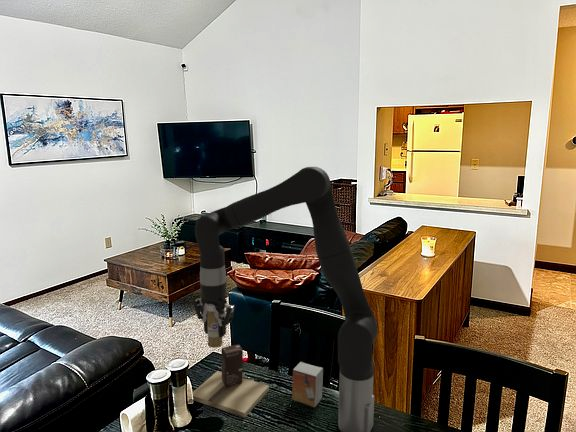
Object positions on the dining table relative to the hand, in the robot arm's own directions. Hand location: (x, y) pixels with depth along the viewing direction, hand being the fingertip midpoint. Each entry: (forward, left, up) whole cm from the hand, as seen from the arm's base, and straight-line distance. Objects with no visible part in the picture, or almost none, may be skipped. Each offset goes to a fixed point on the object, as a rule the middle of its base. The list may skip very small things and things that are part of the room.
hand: (214, 334), depth 126 cm
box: (0, -8, -21) cm, 22 cm away
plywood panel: (-2, -4, -22) cm, 23 cm away
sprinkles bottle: (0, 0, -3) cm, 3 cm away
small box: (-25, -13, -22) cm, 36 cm away
